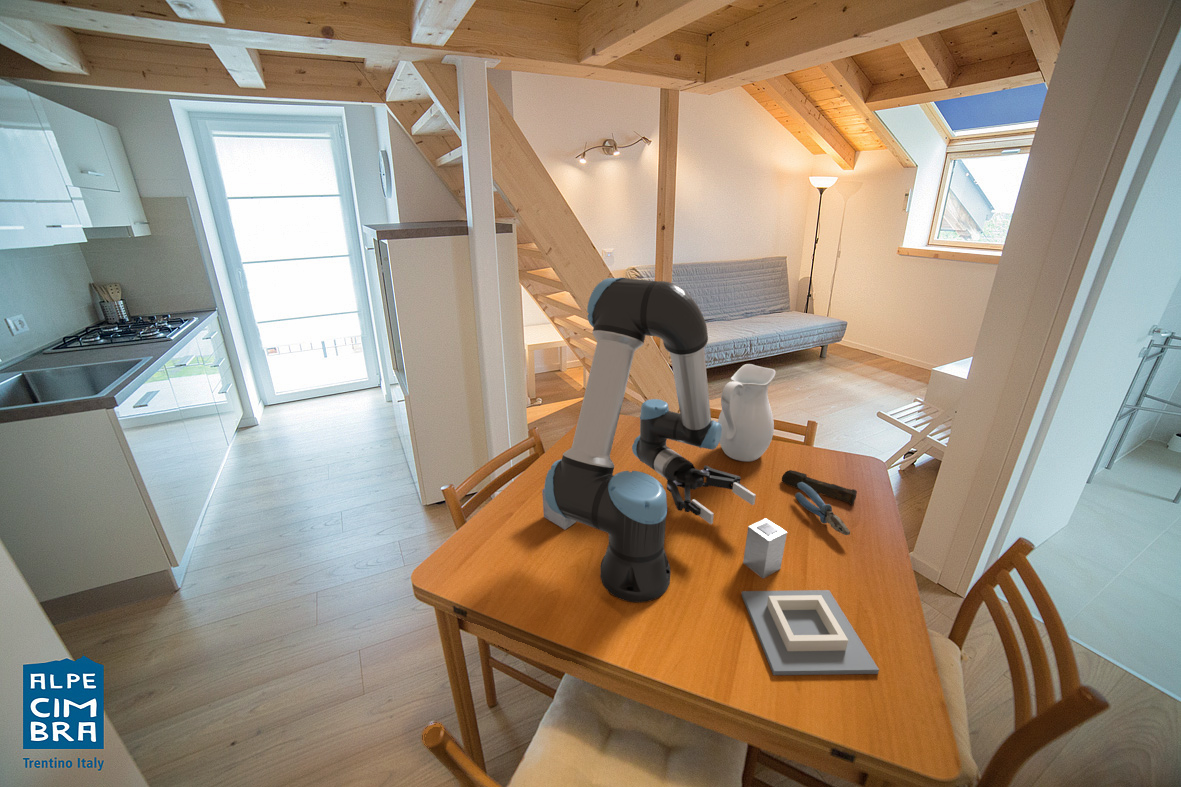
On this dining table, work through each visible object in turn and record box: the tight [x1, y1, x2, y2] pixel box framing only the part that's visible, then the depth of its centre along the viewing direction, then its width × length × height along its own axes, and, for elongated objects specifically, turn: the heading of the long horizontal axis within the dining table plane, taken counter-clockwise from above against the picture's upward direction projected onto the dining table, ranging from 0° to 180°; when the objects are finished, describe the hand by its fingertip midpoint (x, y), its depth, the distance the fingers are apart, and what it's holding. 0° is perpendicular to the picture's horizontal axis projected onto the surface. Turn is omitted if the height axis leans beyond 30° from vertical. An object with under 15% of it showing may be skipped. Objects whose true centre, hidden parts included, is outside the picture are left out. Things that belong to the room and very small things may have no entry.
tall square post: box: [742, 518, 788, 579], centre depth 104 cm, size 6×6×10 cm
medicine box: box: [541, 488, 577, 530], centre depth 120 cm, size 8×4×9 cm, turn 47°
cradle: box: [741, 589, 880, 676], centre depth 89 cm, size 18×18×4 cm
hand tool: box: [781, 469, 858, 506], centre depth 132 cm, size 19×4×5 cm, turn 53°
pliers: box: [794, 482, 851, 536], centre depth 120 cm, size 20×2×6 cm, turn 10°
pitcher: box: [717, 363, 777, 462], centre depth 146 cm, size 24×17×28 cm
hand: (733, 509), depth 111 cm, fingers open, 13 cm apart
